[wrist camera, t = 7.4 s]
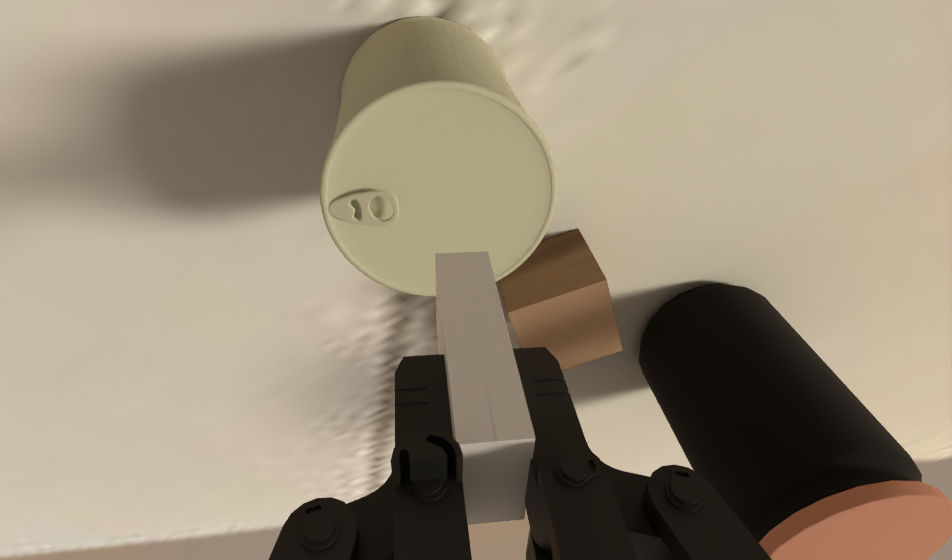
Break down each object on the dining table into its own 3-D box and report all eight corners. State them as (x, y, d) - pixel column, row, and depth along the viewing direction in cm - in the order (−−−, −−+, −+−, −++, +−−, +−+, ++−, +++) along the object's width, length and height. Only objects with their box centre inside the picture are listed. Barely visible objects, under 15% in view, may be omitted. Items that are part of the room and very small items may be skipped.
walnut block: (492, 257, 37) (507, 312, 32) (577, 227, 36) (606, 279, 31) (515, 320, 40) (533, 379, 35) (594, 294, 40) (622, 350, 35)
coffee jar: (660, 398, 47) (780, 623, 33) (611, 323, 41) (730, 557, 27) (779, 339, 45) (965, 554, 30) (744, 251, 39) (954, 465, 25)
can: (327, 19, 27) (291, 91, 18) (509, 11, 28) (572, 75, 18) (354, 188, 33) (339, 315, 23) (507, 177, 33) (554, 295, 24)
